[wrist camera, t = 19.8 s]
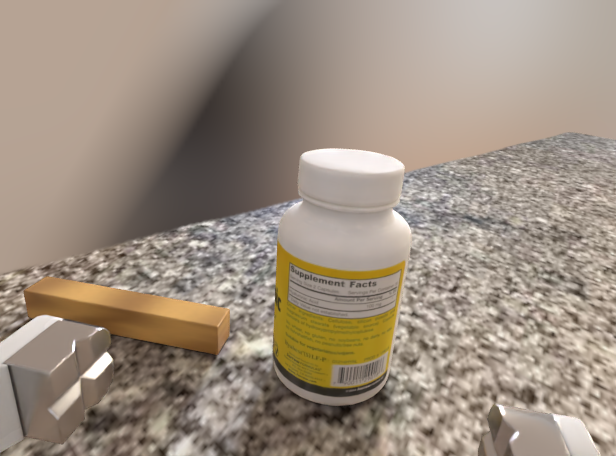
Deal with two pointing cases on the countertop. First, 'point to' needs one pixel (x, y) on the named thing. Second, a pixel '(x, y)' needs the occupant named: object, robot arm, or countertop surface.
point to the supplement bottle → (340, 276)
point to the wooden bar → (132, 313)
